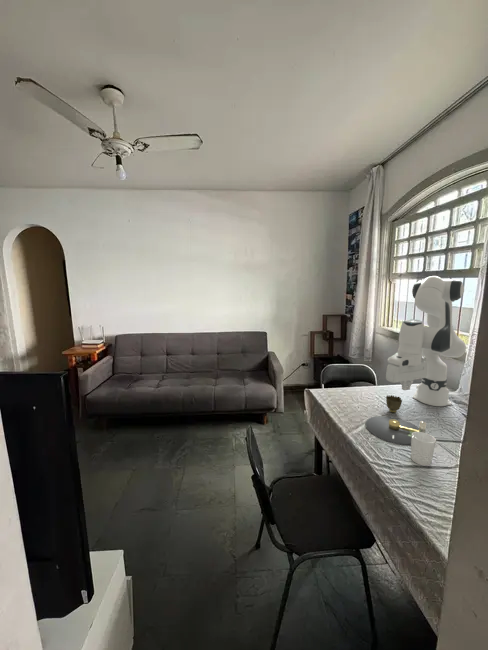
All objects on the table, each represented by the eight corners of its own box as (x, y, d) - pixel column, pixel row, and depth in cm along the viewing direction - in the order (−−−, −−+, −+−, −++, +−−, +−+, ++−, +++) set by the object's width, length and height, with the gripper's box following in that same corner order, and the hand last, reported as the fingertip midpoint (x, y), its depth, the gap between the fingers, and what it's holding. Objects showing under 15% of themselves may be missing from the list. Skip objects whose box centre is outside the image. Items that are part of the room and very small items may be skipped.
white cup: (407, 452, 115) (410, 429, 113) (430, 457, 112) (433, 433, 110) (410, 464, 108) (413, 440, 106) (435, 469, 105) (438, 444, 103)
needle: (387, 428, 131) (389, 416, 130) (389, 424, 135) (390, 412, 134) (424, 438, 123) (425, 425, 122) (424, 433, 126) (426, 421, 125)
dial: (368, 413, 148) (368, 411, 148) (422, 424, 136) (422, 423, 136) (362, 435, 127) (363, 433, 127) (425, 451, 116) (425, 448, 115)
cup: (402, 416, 145) (404, 401, 144) (387, 414, 147) (388, 400, 145) (398, 409, 152) (399, 395, 151) (383, 408, 154) (384, 394, 152)
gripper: (419, 354, 125) (416, 383, 127) (384, 358, 118) (381, 390, 120) (433, 358, 119) (430, 389, 121) (397, 362, 112) (394, 395, 114)
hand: (405, 389), depth 120 cm, fingers closed
